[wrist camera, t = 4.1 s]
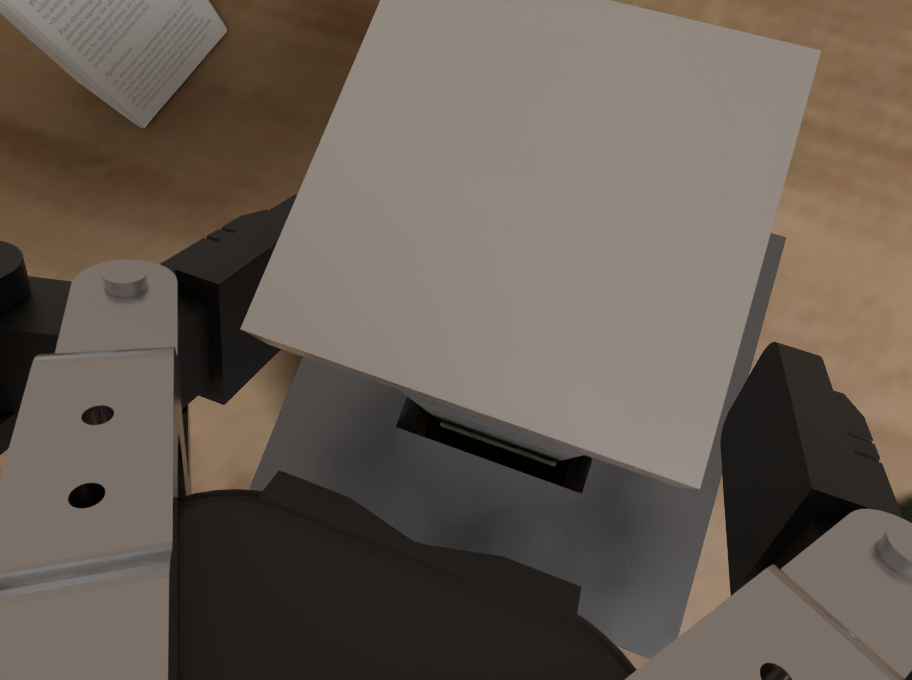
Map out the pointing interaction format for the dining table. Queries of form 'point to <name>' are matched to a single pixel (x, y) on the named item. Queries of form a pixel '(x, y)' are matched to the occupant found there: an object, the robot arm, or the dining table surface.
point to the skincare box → (122, 45)
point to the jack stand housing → (515, 493)
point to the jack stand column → (543, 222)
